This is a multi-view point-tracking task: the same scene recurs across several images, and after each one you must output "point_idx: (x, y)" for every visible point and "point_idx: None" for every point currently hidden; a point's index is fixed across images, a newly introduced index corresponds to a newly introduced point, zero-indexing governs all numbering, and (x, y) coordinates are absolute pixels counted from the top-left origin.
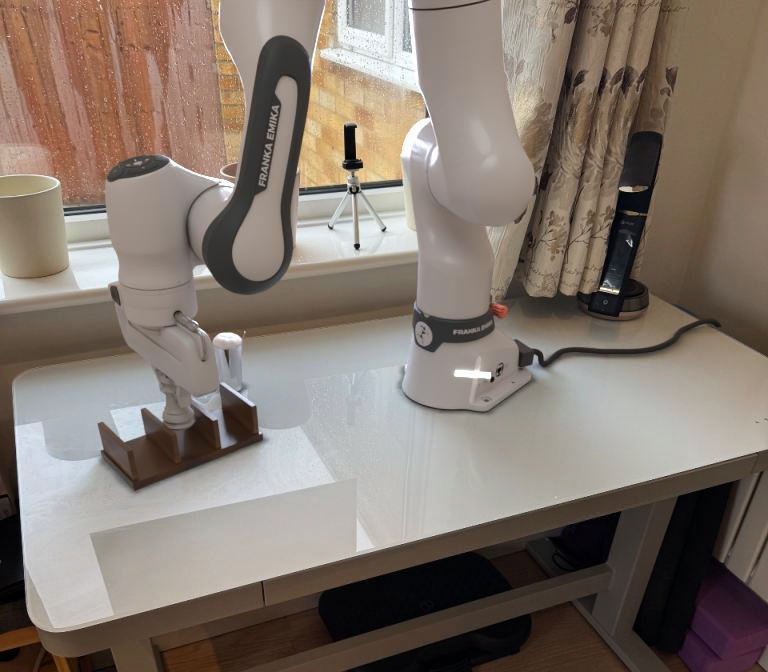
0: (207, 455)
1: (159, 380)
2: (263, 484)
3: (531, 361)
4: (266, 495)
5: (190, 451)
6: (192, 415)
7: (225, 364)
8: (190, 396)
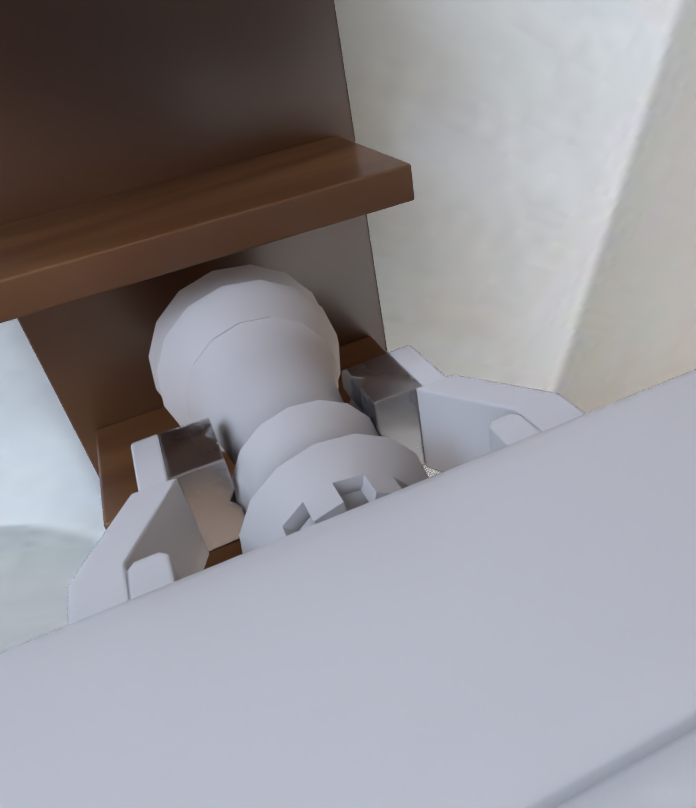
0: (365, 219)
1: (201, 566)
2: (601, 38)
3: None
4: (657, 60)
5: (310, 286)
6: (306, 299)
7: None
8: (434, 369)
